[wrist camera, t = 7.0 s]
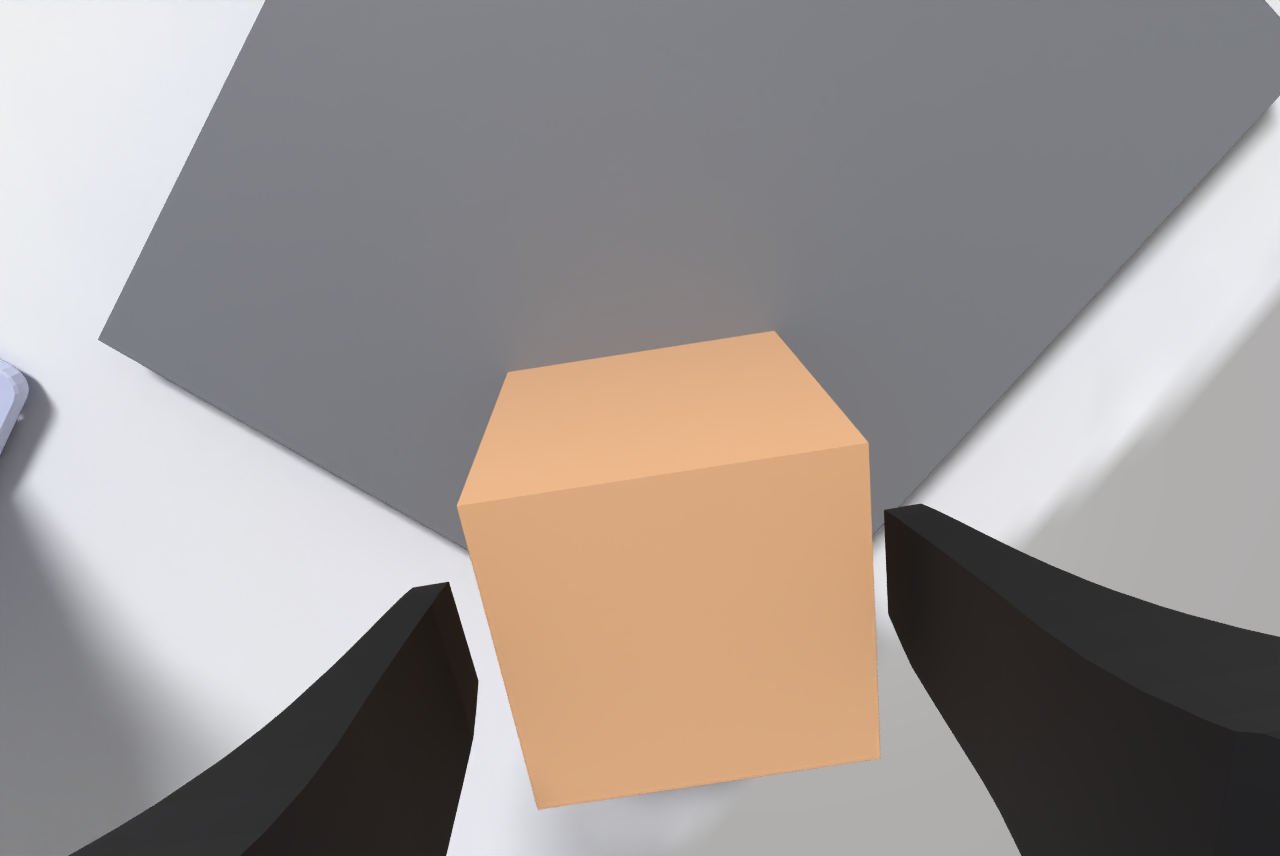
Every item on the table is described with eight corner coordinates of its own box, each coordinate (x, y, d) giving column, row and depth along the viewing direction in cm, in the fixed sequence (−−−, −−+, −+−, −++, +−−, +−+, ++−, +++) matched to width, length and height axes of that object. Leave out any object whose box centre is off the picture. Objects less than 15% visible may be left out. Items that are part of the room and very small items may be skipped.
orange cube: (793, 561, 18) (880, 758, 12) (557, 596, 18) (537, 810, 12) (774, 330, 16) (868, 442, 10) (508, 372, 16) (456, 505, 10)
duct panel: (718, 669, 20) (752, 831, 16) (127, 327, 16) (-65, 408, 11) (1271, 60, 15) (1564, 33, 11) (619, -650, 11) (631, -1195, 7)
